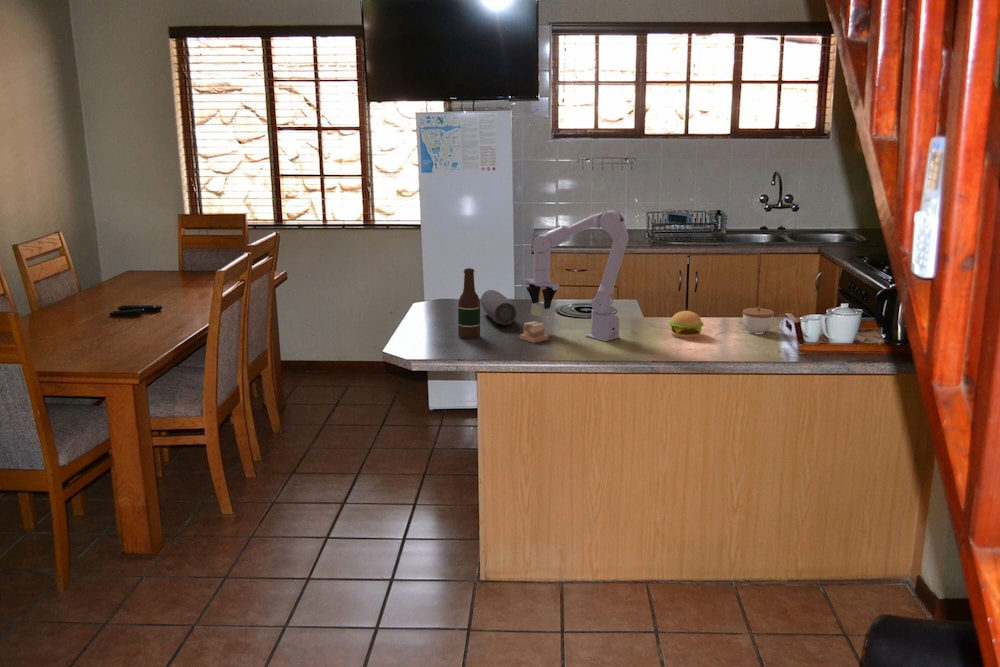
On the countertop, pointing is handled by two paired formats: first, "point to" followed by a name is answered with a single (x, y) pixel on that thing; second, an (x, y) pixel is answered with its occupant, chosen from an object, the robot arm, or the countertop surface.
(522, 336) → the plinth
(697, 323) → the hamburger
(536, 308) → the sage block
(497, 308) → the bluetooth speaker
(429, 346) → the countertop surface
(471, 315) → the beer bottle
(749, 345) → the countertop surface
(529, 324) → the maple block
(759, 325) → the lidded jar
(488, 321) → the countertop surface
